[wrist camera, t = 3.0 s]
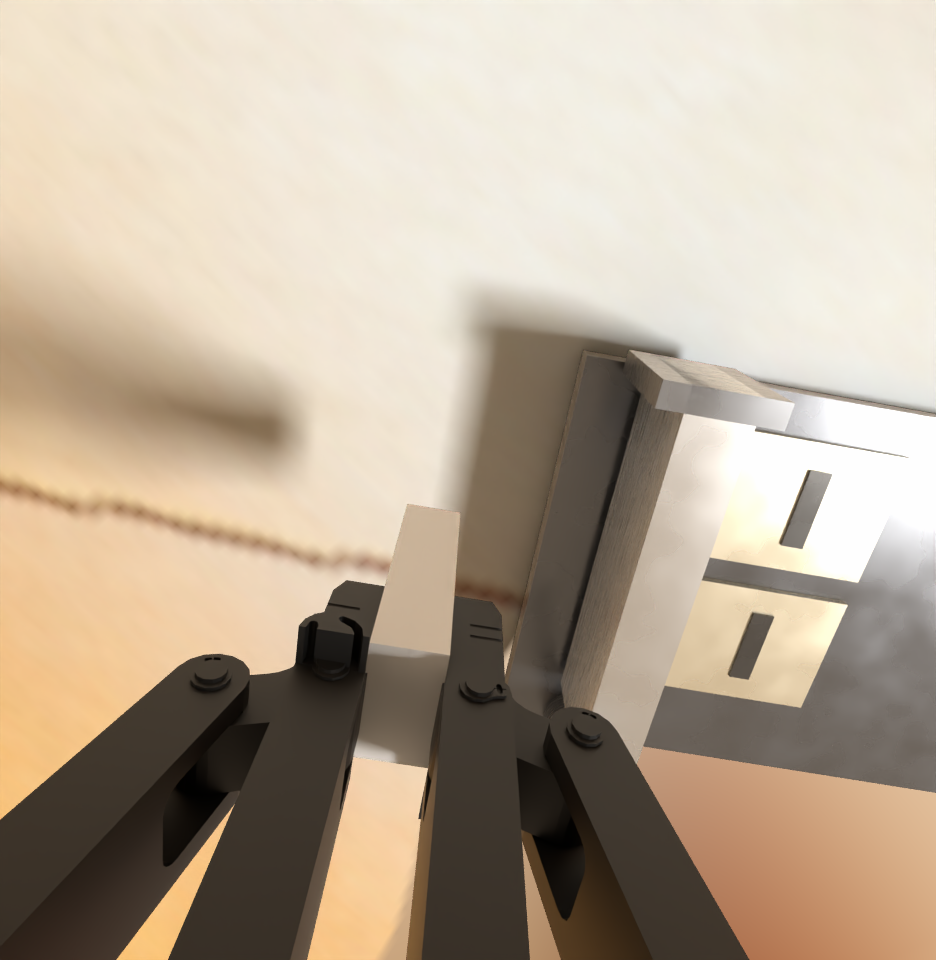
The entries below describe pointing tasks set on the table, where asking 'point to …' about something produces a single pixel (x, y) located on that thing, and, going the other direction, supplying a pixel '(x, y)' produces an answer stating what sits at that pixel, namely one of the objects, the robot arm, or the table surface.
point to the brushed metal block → (661, 532)
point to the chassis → (769, 588)
